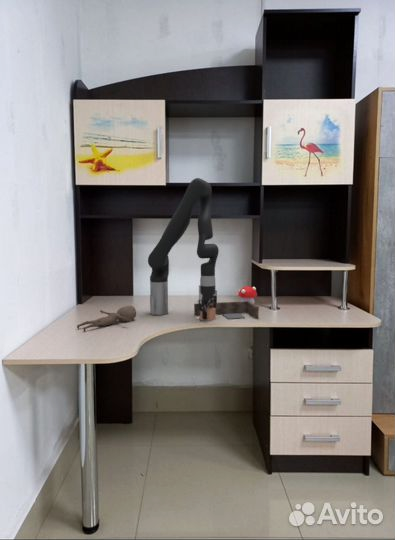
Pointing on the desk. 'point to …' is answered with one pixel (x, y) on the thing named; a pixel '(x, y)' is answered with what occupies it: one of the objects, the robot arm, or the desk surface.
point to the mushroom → (247, 294)
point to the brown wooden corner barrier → (233, 308)
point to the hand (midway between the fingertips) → (208, 317)
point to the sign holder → (201, 294)
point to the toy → (112, 317)
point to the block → (209, 314)
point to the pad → (233, 316)
